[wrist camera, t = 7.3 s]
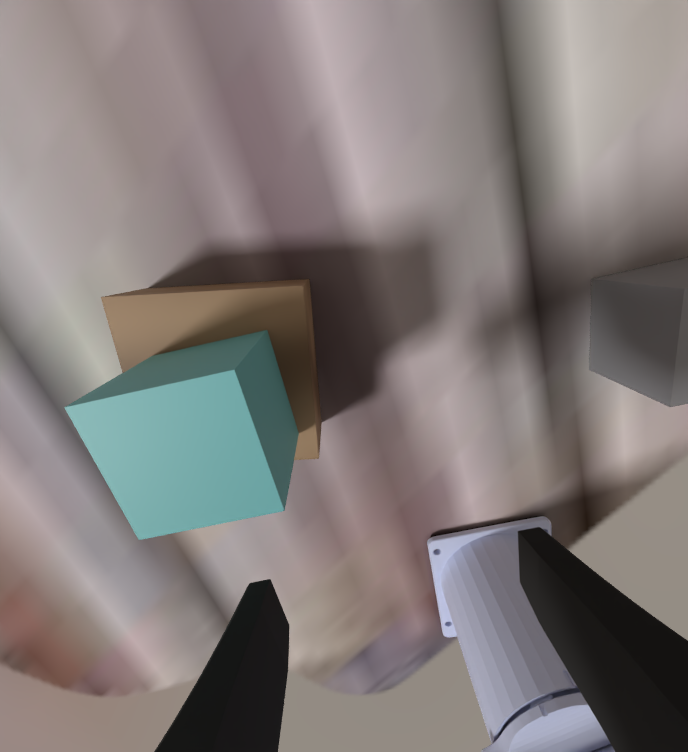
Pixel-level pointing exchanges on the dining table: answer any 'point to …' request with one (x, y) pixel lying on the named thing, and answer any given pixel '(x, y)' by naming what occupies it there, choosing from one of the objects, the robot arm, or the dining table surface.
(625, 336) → the gray cube
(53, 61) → the dining table surface
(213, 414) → the teal cube
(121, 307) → the base block
